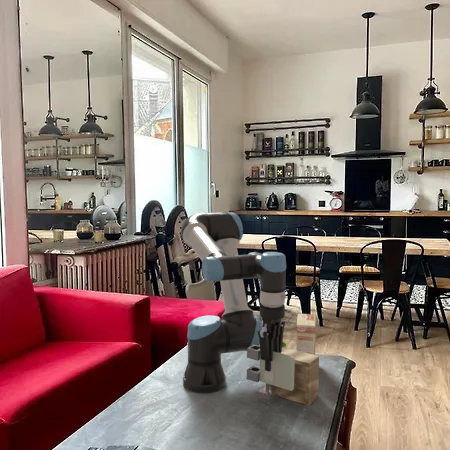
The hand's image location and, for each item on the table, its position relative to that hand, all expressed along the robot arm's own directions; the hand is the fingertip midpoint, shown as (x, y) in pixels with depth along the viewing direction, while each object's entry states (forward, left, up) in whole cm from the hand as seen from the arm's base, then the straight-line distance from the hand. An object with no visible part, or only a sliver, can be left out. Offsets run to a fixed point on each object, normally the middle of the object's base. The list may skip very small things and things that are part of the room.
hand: (270, 378), depth 139 cm
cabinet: (0, +12, -11) cm, 16 cm away
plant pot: (-16, +33, -11) cm, 38 cm away
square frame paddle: (0, 0, -2) cm, 1 cm away
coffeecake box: (-5, +37, -11) cm, 39 cm away
